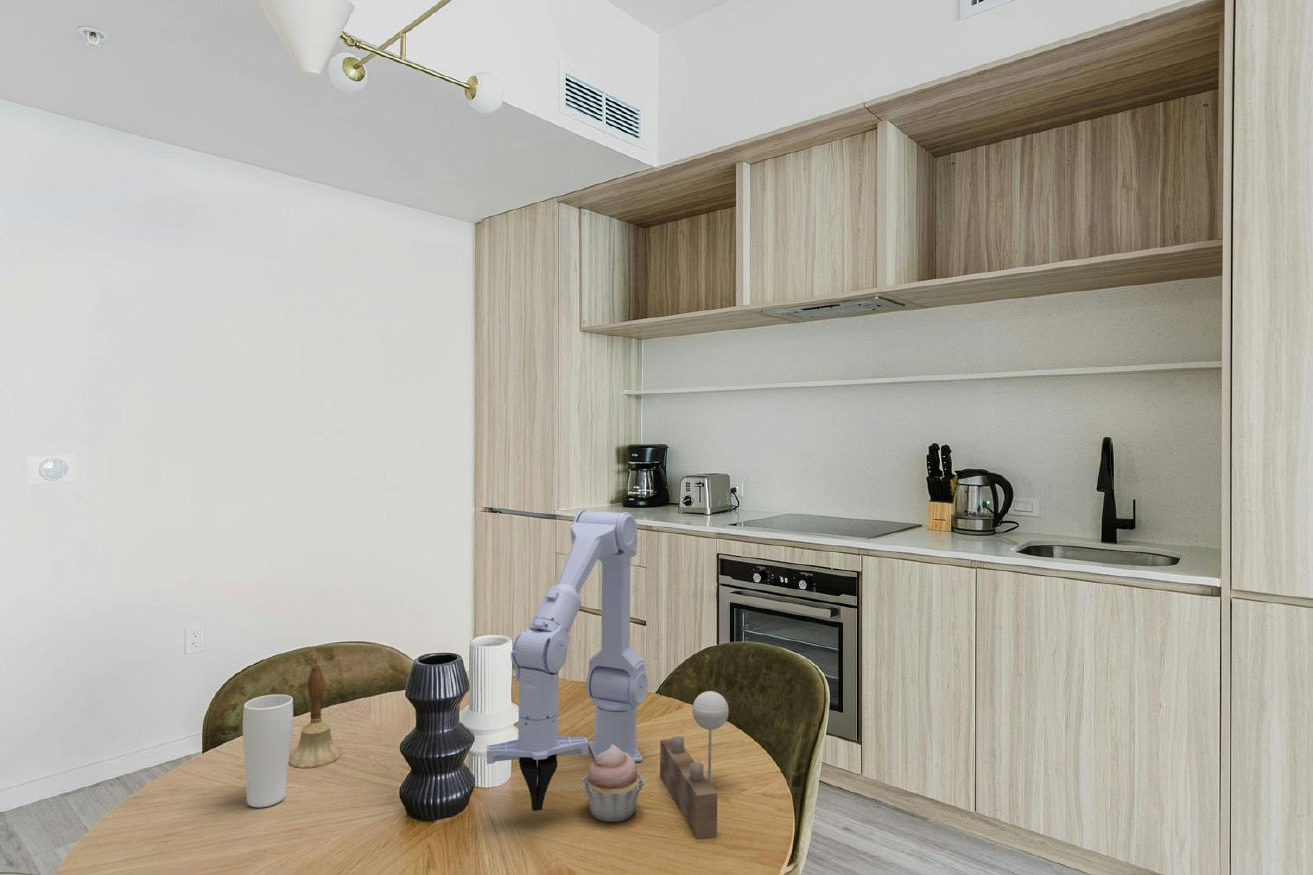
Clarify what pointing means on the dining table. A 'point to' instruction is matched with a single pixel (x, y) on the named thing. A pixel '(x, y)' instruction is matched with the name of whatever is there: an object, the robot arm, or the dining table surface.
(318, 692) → the hand bell
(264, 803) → the drinking glass
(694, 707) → the lollipop
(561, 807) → the dining table surface
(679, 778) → the bar
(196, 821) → the dining table surface
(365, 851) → the dining table surface
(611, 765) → the cupcake
